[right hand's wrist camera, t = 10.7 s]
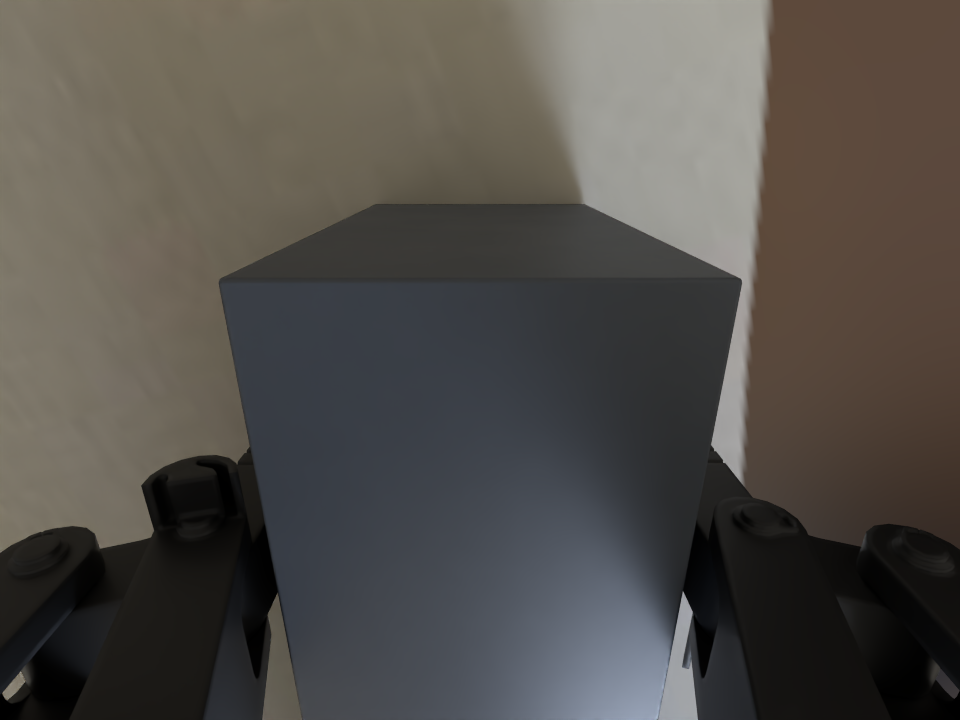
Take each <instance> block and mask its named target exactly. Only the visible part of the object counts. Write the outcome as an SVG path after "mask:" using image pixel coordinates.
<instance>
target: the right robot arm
mask: <svg viewBox="0 0 960 720" xmlns="http://www.w3.org/2000/svg"><path fill="white" fill-rule="evenodd" d="M141 487H142V490H143V494H144V497H145V501H146V504H147V507H148V511H149V514H150V518H151V521H152V525H153V528H154V532H153V534H152V537H151V538H148V539H145V540H141V541H136V542H131V543H126V544H122V545H117V546H112V547H107V548H102V549H100V548H99V545H98V542H97V539H96V536H95V534H94V533H93V532H92V531H90V530H89V529H88V528H83V527H75V526H70V527H62V528H55V529H50V530H46V531H44V532H39V533H36V534H33V535H31V536H29V537H27V538H26V539H24V540H21V541H19V542H17V543H15V544H13V545H11V546H10V547H8V548H7V549H5V550H4V551H3V552H1V553H0V720H262V716H263V706H264V697H265V688H266V679H267V670H268V661H269V651H270V642H271V630H270V624H269V619H268V612H269V610H270V608H271V606H272V604H273V601H274V599H275V597H276V595H277V593H278V590H277V584H276V579H275V574H274V569H273V564H272V558H271V553H270V548H269V543H268V538H267V532H266V527H265V522H264V517H263V511H262V506H261V501H260V496H259V491H258V485H257V480H256V475H255V470H254V464H253V459H252V454H251V449H250V447H249V448H248V450H247V453H244V455H243V456H242V457H241V459H240V460H239V461H238V465H237V464H236V463H235V462H234V461H232V460H231V459H230V458H227V457H223V456H218V455H208V456H197V457H192V458H188V459H183V460H180V461H177V462H175V463H172V464H170V465H167V466H165V467H163V468H162V469H160V470H158V471H157V472H155V473H154V474H152V475H150V476H149V478H148V479H147V480H146V481H145V482H144V483H143V484H142V485H141ZM683 592H684V594H685V596H686V598H687V600H688V602H689V605H690V607H691V609H692V611H693V614H692V619H691V624H690V629H689V634H688V639H687V643H686V648H685V653H684V659H683V665H682V667H683V668H687V669H689V667H690V662H691V659H692V668H693V677H694V687H695V696H696V705H697V714H698V720H960V691H959V693H958V696H957V697H956V698H955V699H954V698H952V697H951V696H950V695H949V694H948V693H947V692H946V691H945V690H944V689H943V688H942V687H941V685H940V684H939V683H938V682H937V681H936V677H937V675H938V673H939V671H940V669H942V670H943V671H944V673H945V674H946V675H947V676H948V677H949V678H950V680H951V681H952V682H953V683H954V684H955V685H956V687H957V688H958V689H959V690H960V550H959V549H958V548H957V547H955V546H954V545H952V544H951V543H949V542H947V541H945V540H943V539H941V538H938V537H936V536H934V535H933V534H931V533H929V532H926V531H923V530H918V529H916V528H912V527H908V526H901V525H893V524H884V525H876V526H873V527H872V528H871V529H869V530H868V531H867V532H866V534H865V537H864V540H863V543H862V546H861V547H859V546H854V545H849V544H845V543H840V542H835V541H830V540H825V539H821V538H816V537H813V536H809V535H808V534H807V531H806V529H805V528H804V527H803V525H802V524H801V523H800V522H799V520H798V519H797V518H796V517H794V516H793V515H791V514H790V513H789V512H787V511H786V510H785V509H783V508H781V507H778V506H776V505H774V504H772V503H770V502H767V501H763V500H759V499H755V498H753V497H752V496H751V495H750V494H749V492H748V491H747V490H746V489H745V487H744V486H743V485H742V484H741V482H740V481H739V480H738V479H737V477H736V476H735V475H734V474H733V472H732V471H731V470H730V468H729V467H728V466H727V465H726V463H723V460H722V458H721V457H720V456H719V455H718V453H717V452H716V451H714V448H713V447H712V446H711V447H710V452H709V457H708V462H707V468H706V473H705V478H704V483H703V488H702V494H701V499H700V504H699V509H698V514H697V520H696V525H695V530H694V535H693V541H692V546H691V551H690V556H689V561H688V567H687V572H686V577H685V582H684V587H683ZM279 601H280V600H279ZM280 606H281V605H280ZM20 671H21V672H22V674H23V676H24V678H25V680H26V682H25V683H24V684H23V685H22V687H21V688H20V689H19V690H18V691H17V693H15V694H14V695H13V696H12V697H11V698H10V699H9V700H6V699H5V698H4V696H3V694H2V692H3V691H4V690H5V689H6V688H7V686H8V685H9V684H10V683H11V682H12V681H13V679H14V678H15V677H16V676H17V675H18V674H19V672H20Z"/></svg>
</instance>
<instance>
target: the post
mask: <svg viewBox="0 0 960 720" xmlns="http://www.w3.org/2000/svg"><path fill="white" fill-rule="evenodd" d="M741 286H742V281H741V279H740V278H738V277H736V276H734V275H732V274H729V273H727V272H725V271H723V270H721V269H719V268H717V267H715V266H713V265H711V264H708V263H706V262H704V261H702V260H700V259H698V258H696V257H694V256H692V255H690V254H688V253H685V252H683V251H681V250H679V249H677V248H675V247H673V246H671V245H669V244H667V243H664V242H662V241H660V240H658V239H656V238H654V237H652V236H650V235H648V234H646V233H643V232H641V231H639V230H637V229H635V228H633V227H631V226H629V225H627V224H625V223H623V222H620V221H618V220H616V219H614V218H612V217H610V216H608V215H606V214H604V213H602V212H599V211H597V210H595V209H593V208H591V207H589V206H587V205H585V204H376V205H373V206H371V207H369V208H367V209H365V210H363V211H361V212H359V213H357V214H355V215H352V216H350V217H348V218H346V219H344V220H342V221H340V222H338V223H336V224H334V225H332V226H329V227H327V228H325V229H323V230H321V231H319V232H317V233H315V234H313V235H311V236H309V237H306V238H304V239H302V240H300V241H298V242H296V243H294V244H292V245H290V246H288V247H286V248H283V249H281V250H279V251H277V252H275V253H273V254H271V255H269V256H267V257H265V258H263V259H260V260H258V261H256V262H254V263H252V264H250V265H248V266H246V267H244V268H242V269H240V270H237V271H235V272H233V273H231V274H229V275H227V276H225V277H223V278H221V279H220V280H219V287H220V292H221V297H222V303H223V308H224V313H225V318H226V324H227V329H228V334H229V339H230V344H231V350H232V355H233V360H234V365H235V371H236V376H237V381H238V386H239V391H240V397H241V402H242V407H243V412H244V417H245V423H246V428H247V433H248V438H249V444H250V449H251V454H252V459H253V464H254V470H255V475H256V480H257V485H258V491H259V496H260V501H261V506H262V511H263V517H264V522H265V527H266V532H267V538H268V543H269V548H270V553H271V558H272V564H273V569H274V574H275V579H276V584H277V590H278V595H279V600H280V605H281V611H282V616H283V621H284V626H285V631H286V637H287V642H288V647H289V652H290V658H291V663H292V668H293V673H294V678H295V684H296V689H297V694H298V699H299V704H300V710H301V715H302V720H658V717H659V712H660V707H661V702H662V697H663V691H664V686H665V681H666V676H667V671H668V665H669V660H670V655H671V650H672V645H673V639H674V634H675V629H676V624H677V619H678V613H679V608H680V603H681V598H682V593H683V587H684V582H685V577H686V572H687V567H688V561H689V556H690V551H691V546H692V541H693V535H694V530H695V525H696V520H697V514H698V509H699V504H700V499H701V494H702V488H703V483H704V478H705V473H706V468H707V462H708V457H709V452H710V447H711V442H712V436H713V431H714V426H715V421H716V416H717V410H718V405H719V400H720V395H721V390H722V384H723V379H724V374H725V369H726V364H727V358H728V353H729V348H730V343H731V338H732V332H733V327H734V322H735V317H736V312H737V306H738V301H739V296H740V291H741Z"/></svg>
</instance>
